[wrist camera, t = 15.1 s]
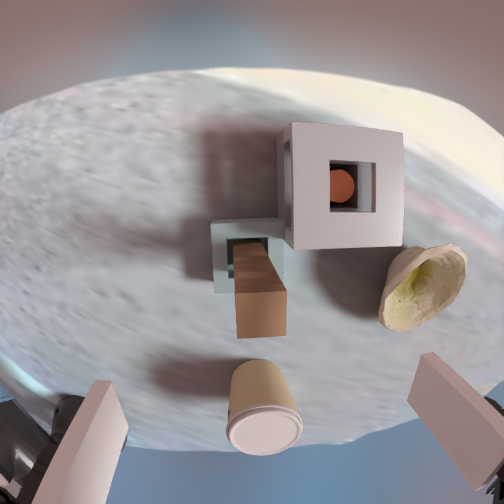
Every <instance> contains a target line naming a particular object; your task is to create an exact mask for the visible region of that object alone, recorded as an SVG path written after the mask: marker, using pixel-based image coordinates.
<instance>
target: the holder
mask: <svg viewBox="0 0 504 504" xmlns="http://www.w3.org/2000/svg"><path fill="white" fill-rule="evenodd" d="M233 239H260V241H261V243H262V245H263V247H264V249H265V251H266V253H267V254H268V256H269V258H270V260H271V262H272V264H273V266H274V268H275V270H276V272H277V273H278V275H279V277H280V279H281V281H282V283H283V221H282V220H280V219H279V218H278V217H277V218H243V219H216V220H212V222H211V245H212V263H213V279H214V293H229V292H235V286H234V264H233Z"/></svg>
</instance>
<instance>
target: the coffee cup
mask: <svg viewBox="0 0 504 504" xmlns="http://www.w3.org/2000/svg"><path fill="white" fill-rule="evenodd" d="M302 427H303V424H302V420H301V417H300V415H299V414H298V412H297V410H296V407H295V405H294V402H293V400H292V397H291V395H290V392H289V390H288V387H287V385H286V382H285V380H284V377H283V375H282V373H281V371H280V369H279V368H278V367H277V366H276V365H275V364H274V363H272V362H270V361H267V360H262V359H255V360H250V361H247V362H244V363H242V364H241V365H239V366H238V367H237V368H236V369H235V371H234V372H233V375H232V379H231V387H230V398H229V410H228V423H227V427H226V434H227V438H228V440H229V441H230V442H231V444H232V445H233V446H234V447H235V448H236V449H238V450H239V451H241V452H244V453H247V454H251V455H270V454H275V453H278V452H281V451H283V450H285V449H287V448H289V447H290V446H292V445H293V444H294V443H295V442H296V441H297V440H298V438H299V437H300V434H301V431H302Z"/></svg>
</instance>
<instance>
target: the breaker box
mask: <svg viewBox="0 0 504 504" xmlns="http://www.w3.org/2000/svg"><path fill="white" fill-rule="evenodd" d="M276 155H277V207H278V218H279V219H280V220H282V221H283V239H284V240H285V241H286V243H287V244H288V245H289V246H290V247H291V248H292V249H293V250H308V249H334V248H360V247H386V246H402V233H403V214H404V150H403V133H400V132H394V131H387V130H380V129H373V128H365V127H356V126H347V125H336V124H323V123H307V122H291V123H290V124H289V125H288V126H287V127H286V128H285V129H284V130H283V131H282V132H281V133H280V134H279V135H278V136H277V137H276ZM329 166H337V167H342V170H344V171H346V172H347V173H349V174H350V175H351V177H352V178H353V181H354V192H353V194H352V196H351V197H350V198H349V199H348V200H347V201H345V202H342V205H330V167H329Z"/></svg>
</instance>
